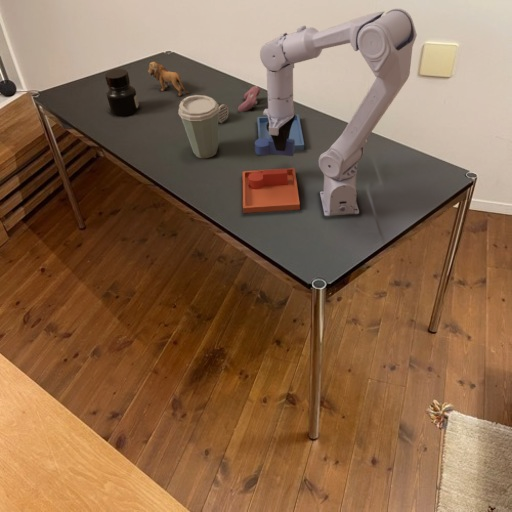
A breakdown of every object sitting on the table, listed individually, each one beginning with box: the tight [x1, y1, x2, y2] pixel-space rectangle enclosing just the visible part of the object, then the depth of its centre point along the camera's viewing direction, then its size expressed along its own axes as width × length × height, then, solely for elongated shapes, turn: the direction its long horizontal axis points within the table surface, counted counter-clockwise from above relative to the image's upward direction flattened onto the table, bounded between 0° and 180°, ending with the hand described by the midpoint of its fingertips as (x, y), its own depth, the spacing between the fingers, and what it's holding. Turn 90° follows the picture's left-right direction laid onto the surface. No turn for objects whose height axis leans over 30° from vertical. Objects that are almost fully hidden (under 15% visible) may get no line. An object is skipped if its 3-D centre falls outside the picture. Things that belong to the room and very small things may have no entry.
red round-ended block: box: [248, 168, 288, 189], centre depth 125 cm, size 10×4×4 cm, turn 92°
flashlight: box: [178, 95, 230, 124], centre depth 154 cm, size 15×5×5 cm, turn 58°
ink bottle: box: [104, 68, 140, 117], centre depth 158 cm, size 10×9×12 cm
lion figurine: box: [146, 61, 190, 97], centre depth 168 cm, size 15×5×9 cm, turn 62°
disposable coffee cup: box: [177, 94, 219, 159], centre depth 135 cm, size 11×11×15 cm
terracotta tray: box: [242, 167, 301, 214], centre depth 124 cm, size 15×13×2 cm
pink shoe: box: [237, 85, 262, 112], centre depth 157 cm, size 10×5×7 cm, turn 168°
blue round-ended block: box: [254, 137, 296, 157], centre depth 123 cm, size 10×4×4 cm, turn 74°
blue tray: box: [256, 113, 305, 151], centre depth 143 cm, size 17×12×2 cm
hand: (281, 147), depth 122 cm, fingers closed on blue round-ended block, 2 cm apart
